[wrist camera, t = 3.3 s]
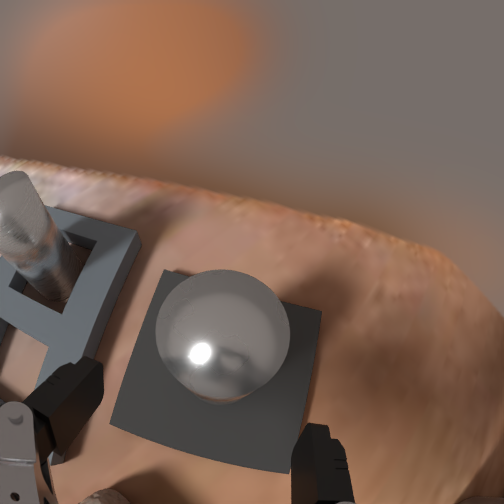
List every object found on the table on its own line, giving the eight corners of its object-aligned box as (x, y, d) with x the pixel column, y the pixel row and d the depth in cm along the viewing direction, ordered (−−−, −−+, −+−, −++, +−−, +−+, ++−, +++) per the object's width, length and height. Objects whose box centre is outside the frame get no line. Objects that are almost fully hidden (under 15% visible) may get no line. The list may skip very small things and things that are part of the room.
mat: (317, 315, 22) (322, 311, 21) (285, 471, 16) (288, 474, 15) (165, 275, 23) (164, 269, 22) (114, 423, 16) (109, 423, 15)
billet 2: (262, 347, 20) (300, 287, 11) (246, 412, 17) (274, 411, 9) (196, 330, 20) (180, 255, 11) (176, 393, 17) (137, 372, 9)
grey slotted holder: (141, 244, 24) (136, 230, 22) (63, 463, 14) (50, 465, 12) (41, 214, 24) (33, 202, 22) (-35, 389, 14) (-49, 384, 12)
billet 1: (91, 260, 22) (42, 175, 14) (68, 309, 20) (-1, 238, 11) (53, 246, 23) (2, 167, 14) (30, 291, 20) (-36, 221, 12)
